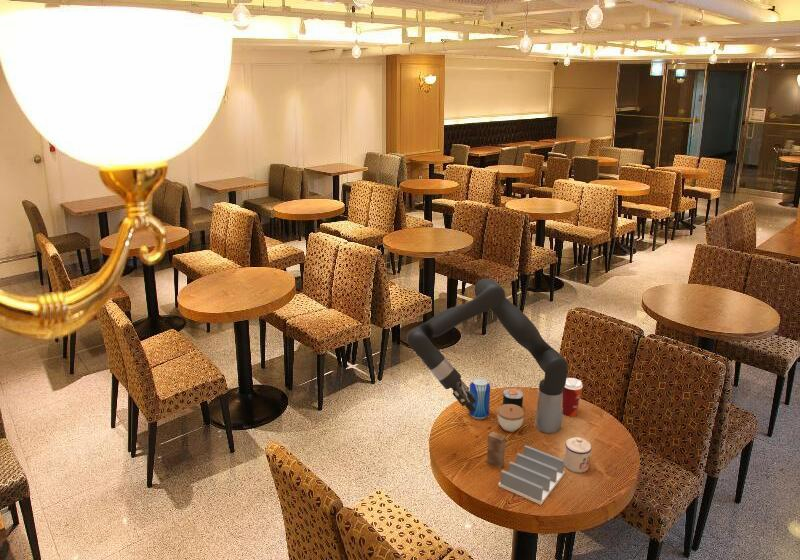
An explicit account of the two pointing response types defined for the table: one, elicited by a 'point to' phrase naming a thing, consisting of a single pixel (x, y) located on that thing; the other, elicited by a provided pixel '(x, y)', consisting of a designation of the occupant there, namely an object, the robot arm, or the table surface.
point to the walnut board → (496, 449)
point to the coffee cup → (571, 396)
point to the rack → (533, 474)
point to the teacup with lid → (577, 454)
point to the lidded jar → (510, 417)
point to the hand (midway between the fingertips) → (474, 406)
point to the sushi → (513, 397)
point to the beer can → (480, 397)
